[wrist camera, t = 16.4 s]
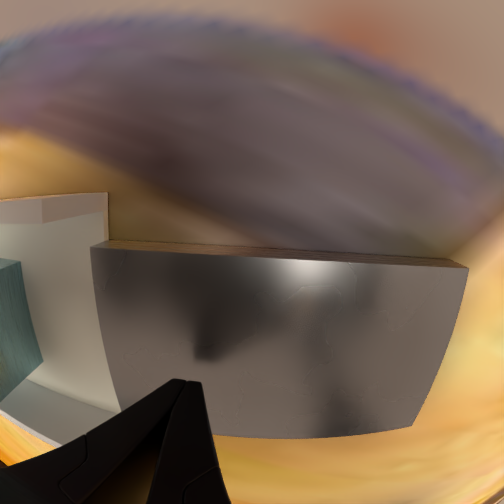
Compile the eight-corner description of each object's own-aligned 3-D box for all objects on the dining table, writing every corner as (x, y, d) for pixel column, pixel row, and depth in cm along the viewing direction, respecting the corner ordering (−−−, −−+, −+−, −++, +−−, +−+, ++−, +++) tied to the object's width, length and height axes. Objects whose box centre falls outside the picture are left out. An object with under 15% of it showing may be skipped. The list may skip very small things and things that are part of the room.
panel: (402, 409, 10) (411, 425, 9) (132, 399, 10) (123, 416, 9) (450, 259, 8) (469, 268, 7) (108, 239, 9) (89, 247, 7)
